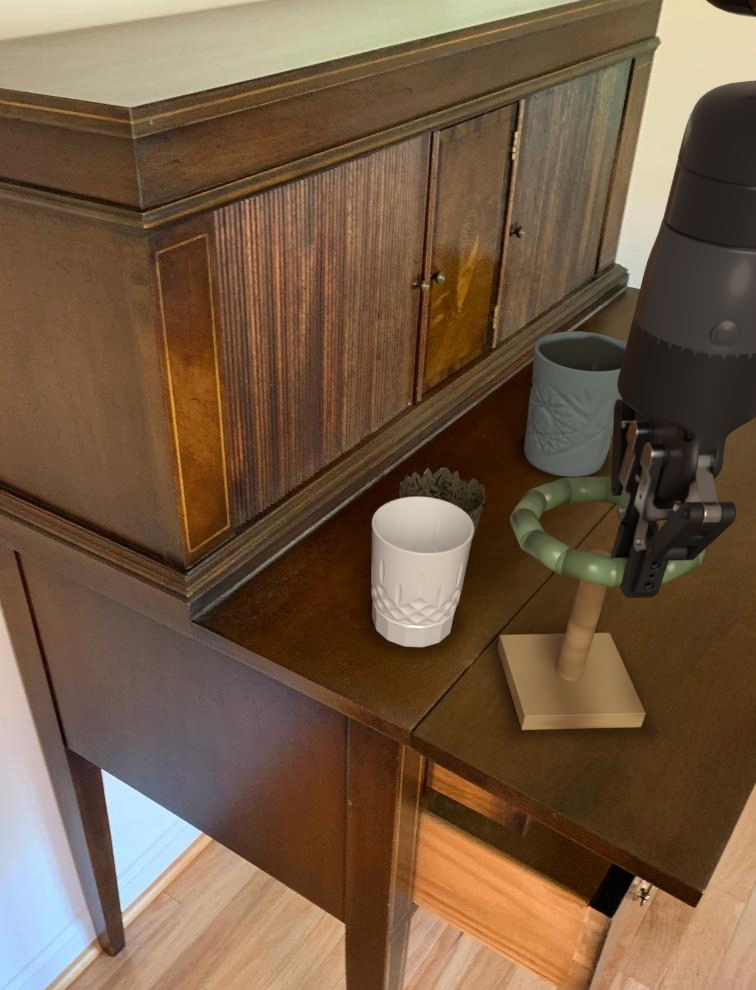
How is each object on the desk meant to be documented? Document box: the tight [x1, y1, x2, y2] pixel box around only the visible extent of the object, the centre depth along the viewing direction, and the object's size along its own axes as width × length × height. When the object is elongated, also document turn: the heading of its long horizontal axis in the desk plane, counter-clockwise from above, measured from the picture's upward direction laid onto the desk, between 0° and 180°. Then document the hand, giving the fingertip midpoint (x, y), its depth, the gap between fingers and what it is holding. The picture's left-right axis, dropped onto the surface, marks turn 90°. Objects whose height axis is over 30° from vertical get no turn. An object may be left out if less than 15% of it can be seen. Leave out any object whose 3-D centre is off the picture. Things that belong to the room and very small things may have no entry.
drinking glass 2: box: [523, 330, 627, 478], centre depth 95 cm, size 10×10×12 cm
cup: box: [398, 466, 487, 541], centre depth 81 cm, size 8×7×8 cm
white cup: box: [370, 497, 474, 648], centre depth 74 cm, size 8×8×10 cm
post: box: [497, 548, 647, 731], centre depth 68 cm, size 9×9×12 cm
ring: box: [509, 476, 707, 588], centre depth 62 cm, size 13×13×2 cm
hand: (631, 581), depth 58 cm, fingers closed on ring, 2 cm apart
